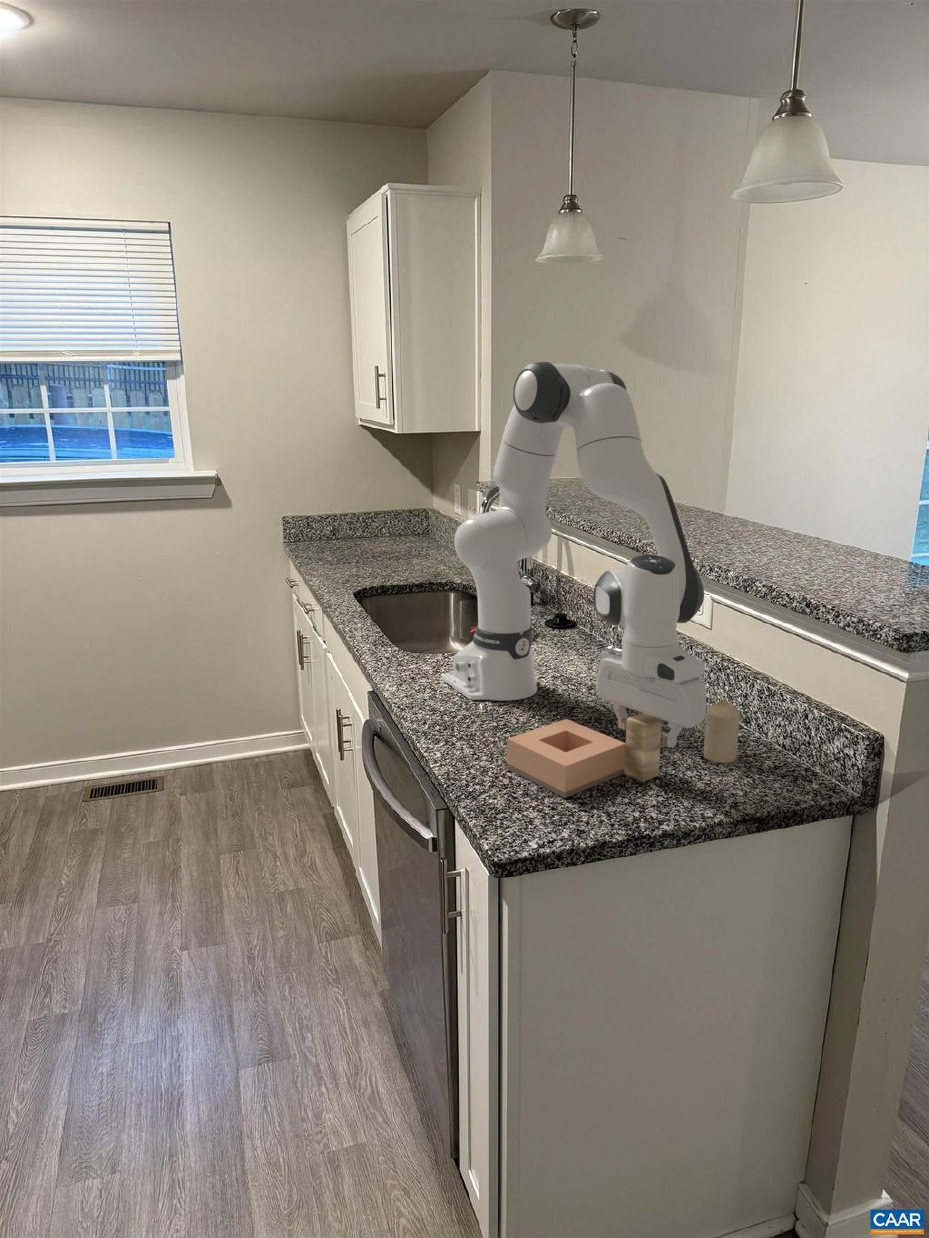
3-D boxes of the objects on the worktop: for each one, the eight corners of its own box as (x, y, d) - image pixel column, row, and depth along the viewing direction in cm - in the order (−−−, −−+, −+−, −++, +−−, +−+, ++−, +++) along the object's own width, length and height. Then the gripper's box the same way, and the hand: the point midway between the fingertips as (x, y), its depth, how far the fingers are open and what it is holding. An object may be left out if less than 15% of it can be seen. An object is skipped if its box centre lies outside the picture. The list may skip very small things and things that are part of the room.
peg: (624, 773, 141) (626, 718, 139) (640, 767, 144) (642, 712, 141) (642, 782, 138) (645, 725, 136) (658, 775, 141) (661, 719, 138)
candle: (705, 762, 145) (709, 708, 143) (701, 749, 150) (705, 697, 148) (738, 764, 144) (742, 710, 142) (733, 751, 150) (737, 698, 147)
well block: (507, 768, 144) (507, 738, 142) (565, 747, 152) (566, 718, 151) (564, 798, 133) (565, 766, 132) (624, 773, 141) (625, 743, 140)
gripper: (588, 647, 142) (587, 723, 145) (688, 676, 126) (684, 761, 129) (614, 640, 145) (612, 714, 149) (714, 667, 130) (709, 750, 133)
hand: (646, 736), depth 139 cm, fingers open, 8 cm apart
